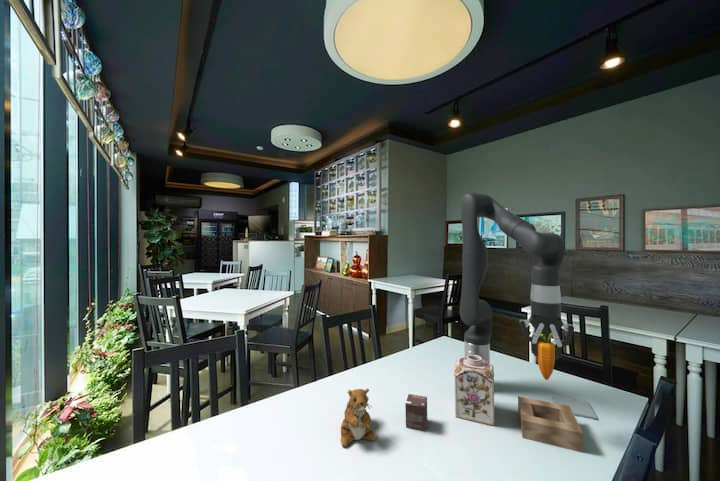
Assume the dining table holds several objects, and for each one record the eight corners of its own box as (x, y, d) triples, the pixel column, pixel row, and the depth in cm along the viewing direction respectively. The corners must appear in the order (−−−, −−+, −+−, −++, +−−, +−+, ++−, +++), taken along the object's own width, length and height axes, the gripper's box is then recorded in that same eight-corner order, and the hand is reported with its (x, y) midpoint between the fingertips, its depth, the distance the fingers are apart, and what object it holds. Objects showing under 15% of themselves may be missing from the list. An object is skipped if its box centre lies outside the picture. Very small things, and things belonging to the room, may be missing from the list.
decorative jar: (494, 407, 96) (493, 353, 96) (495, 427, 85) (494, 367, 86) (457, 399, 101) (457, 348, 101) (453, 417, 90) (453, 360, 91)
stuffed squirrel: (341, 450, 76) (341, 400, 77) (337, 418, 90) (337, 377, 90) (377, 445, 78) (377, 397, 78) (368, 415, 92) (367, 374, 92)
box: (427, 420, 89) (427, 396, 89) (425, 431, 83) (425, 406, 84) (408, 416, 91) (408, 393, 91) (405, 427, 85) (405, 403, 86)
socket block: (522, 437, 80) (522, 419, 81) (518, 411, 93) (518, 396, 93) (583, 452, 75) (582, 433, 75) (570, 422, 87) (569, 406, 87)
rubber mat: (558, 412, 93) (558, 410, 93) (552, 397, 102) (552, 395, 102) (597, 419, 88) (597, 417, 88) (587, 403, 97) (587, 401, 97)
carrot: (559, 384, 81) (558, 332, 82) (540, 383, 82) (539, 331, 82) (551, 376, 86) (551, 327, 86) (533, 375, 87) (533, 326, 87)
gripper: (519, 300, 84) (519, 357, 84) (578, 304, 78) (579, 366, 78) (517, 295, 91) (517, 348, 91) (571, 299, 85) (572, 356, 85)
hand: (546, 356), depth 84 cm, fingers closed on carrot, 5 cm apart
